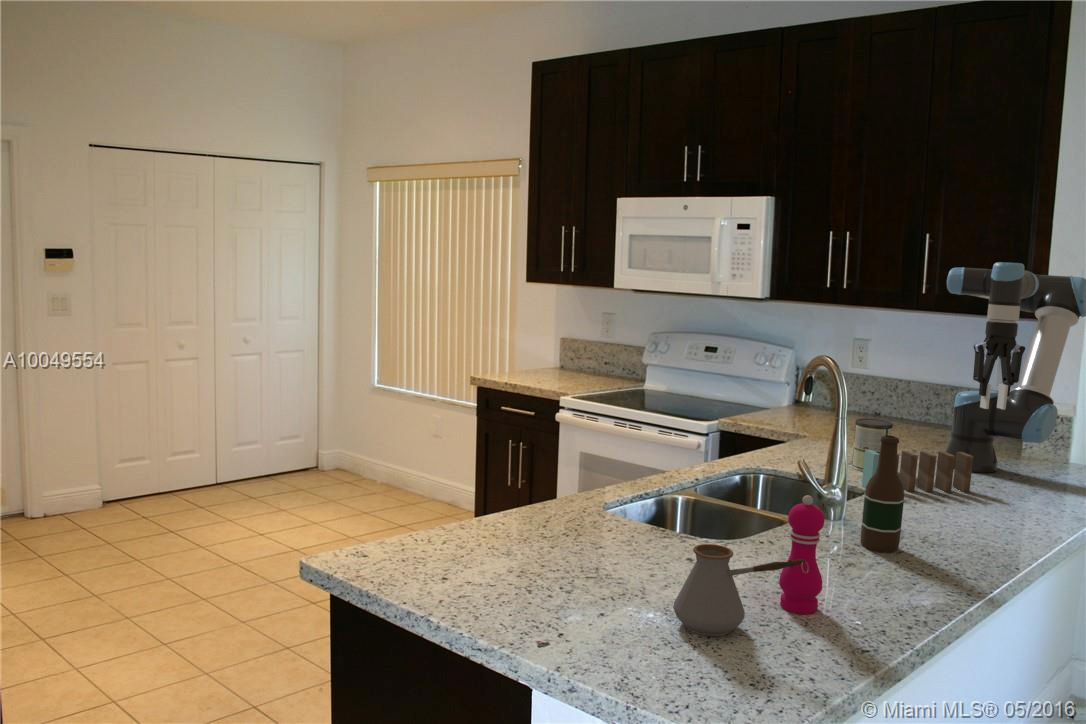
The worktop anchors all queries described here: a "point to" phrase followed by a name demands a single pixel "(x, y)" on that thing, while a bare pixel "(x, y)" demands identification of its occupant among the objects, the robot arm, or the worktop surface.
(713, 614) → the coffee pot
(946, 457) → the domino
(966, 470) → the domino
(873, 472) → the domino
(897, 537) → the beer bottle
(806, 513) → the pepper mill
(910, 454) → the domino
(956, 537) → the worktop surface
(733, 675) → the worktop surface
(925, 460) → the domino
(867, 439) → the coffee can
